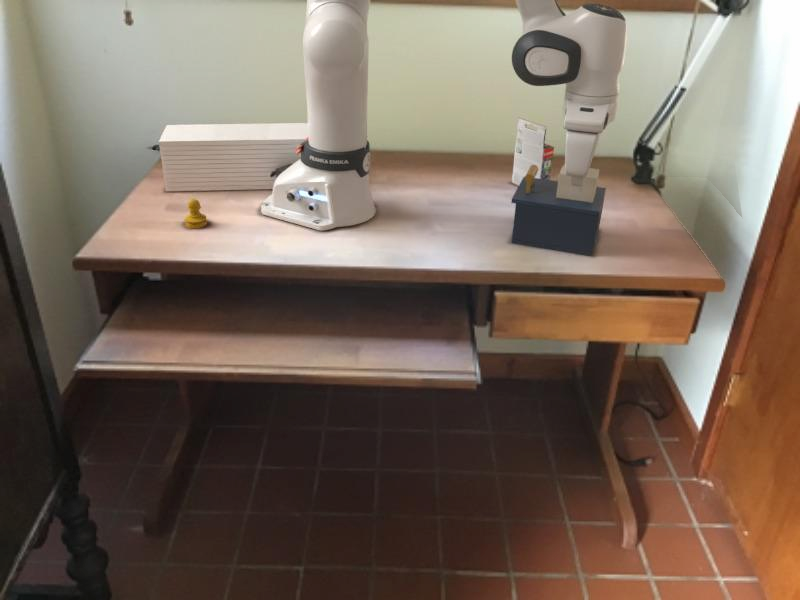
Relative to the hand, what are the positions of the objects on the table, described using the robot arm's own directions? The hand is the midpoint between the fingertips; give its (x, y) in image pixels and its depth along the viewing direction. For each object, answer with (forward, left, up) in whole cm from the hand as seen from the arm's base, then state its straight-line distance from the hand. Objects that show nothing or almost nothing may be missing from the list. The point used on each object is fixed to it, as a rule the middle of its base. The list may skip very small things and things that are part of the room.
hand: (578, 183), depth 135 cm
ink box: (-12, +22, -11) cm, 28 cm away
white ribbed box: (-70, +3, -11) cm, 71 cm away
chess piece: (-68, -20, -11) cm, 71 cm away
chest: (-3, 0, -11) cm, 11 cm away
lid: (-3, 0, -3) cm, 4 cm away
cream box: (0, 0, -2) cm, 2 cm away
